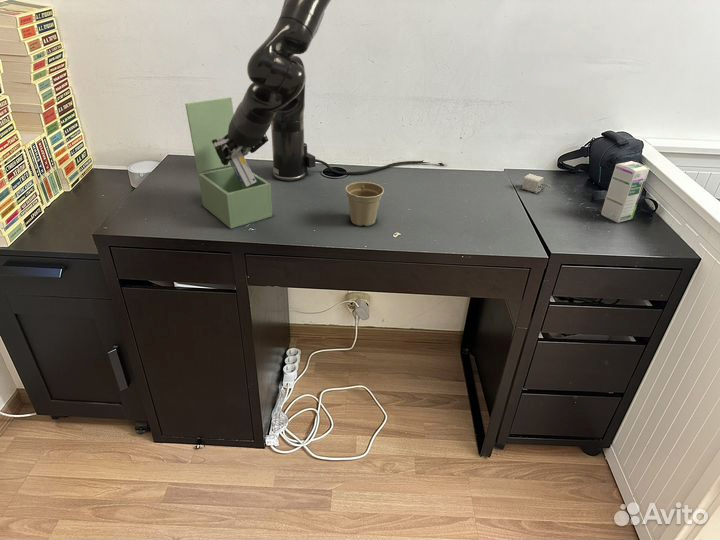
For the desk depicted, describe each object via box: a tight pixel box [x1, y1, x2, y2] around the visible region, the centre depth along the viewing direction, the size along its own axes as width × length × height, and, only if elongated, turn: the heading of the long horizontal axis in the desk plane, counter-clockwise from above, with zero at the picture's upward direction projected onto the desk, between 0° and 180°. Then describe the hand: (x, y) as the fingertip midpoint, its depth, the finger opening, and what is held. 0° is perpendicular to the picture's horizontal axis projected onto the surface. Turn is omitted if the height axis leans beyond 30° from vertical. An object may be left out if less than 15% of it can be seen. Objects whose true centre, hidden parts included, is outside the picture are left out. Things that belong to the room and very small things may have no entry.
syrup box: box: [600, 160, 651, 224], centre depth 130 cm, size 6×6×14 cm
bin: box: [197, 166, 273, 229], centre depth 126 cm, size 16×12×9 cm
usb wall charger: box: [521, 173, 551, 194], centre depth 146 cm, size 4×7×4 cm, turn 49°
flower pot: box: [344, 181, 385, 227], centre depth 124 cm, size 9×9×9 cm
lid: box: [184, 97, 235, 173], centre depth 127 cm, size 16×12×6 cm
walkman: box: [218, 137, 257, 186], centre depth 121 cm, size 8×3×12 cm, turn 23°
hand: (230, 160), depth 121 cm, fingers closed on walkman, 3 cm apart
